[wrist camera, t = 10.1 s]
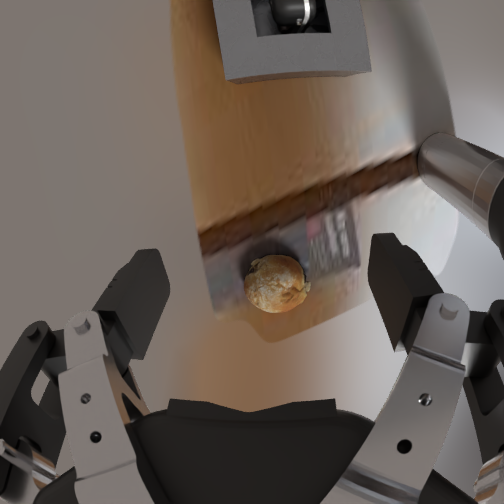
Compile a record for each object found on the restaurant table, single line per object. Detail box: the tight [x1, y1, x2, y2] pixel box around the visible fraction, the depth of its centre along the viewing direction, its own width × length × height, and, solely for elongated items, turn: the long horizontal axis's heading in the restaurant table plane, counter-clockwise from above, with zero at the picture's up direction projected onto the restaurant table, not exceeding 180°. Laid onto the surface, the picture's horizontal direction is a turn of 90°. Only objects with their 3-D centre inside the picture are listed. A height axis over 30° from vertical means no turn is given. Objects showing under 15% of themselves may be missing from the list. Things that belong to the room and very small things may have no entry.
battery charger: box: [269, 0, 316, 35], centre depth 20 cm, size 7×4×11 cm, turn 9°
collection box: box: [213, 0, 371, 84], centre depth 21 cm, size 14×18×10 cm
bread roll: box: [244, 255, 311, 313], centre depth 45 cm, size 10×10×8 cm
